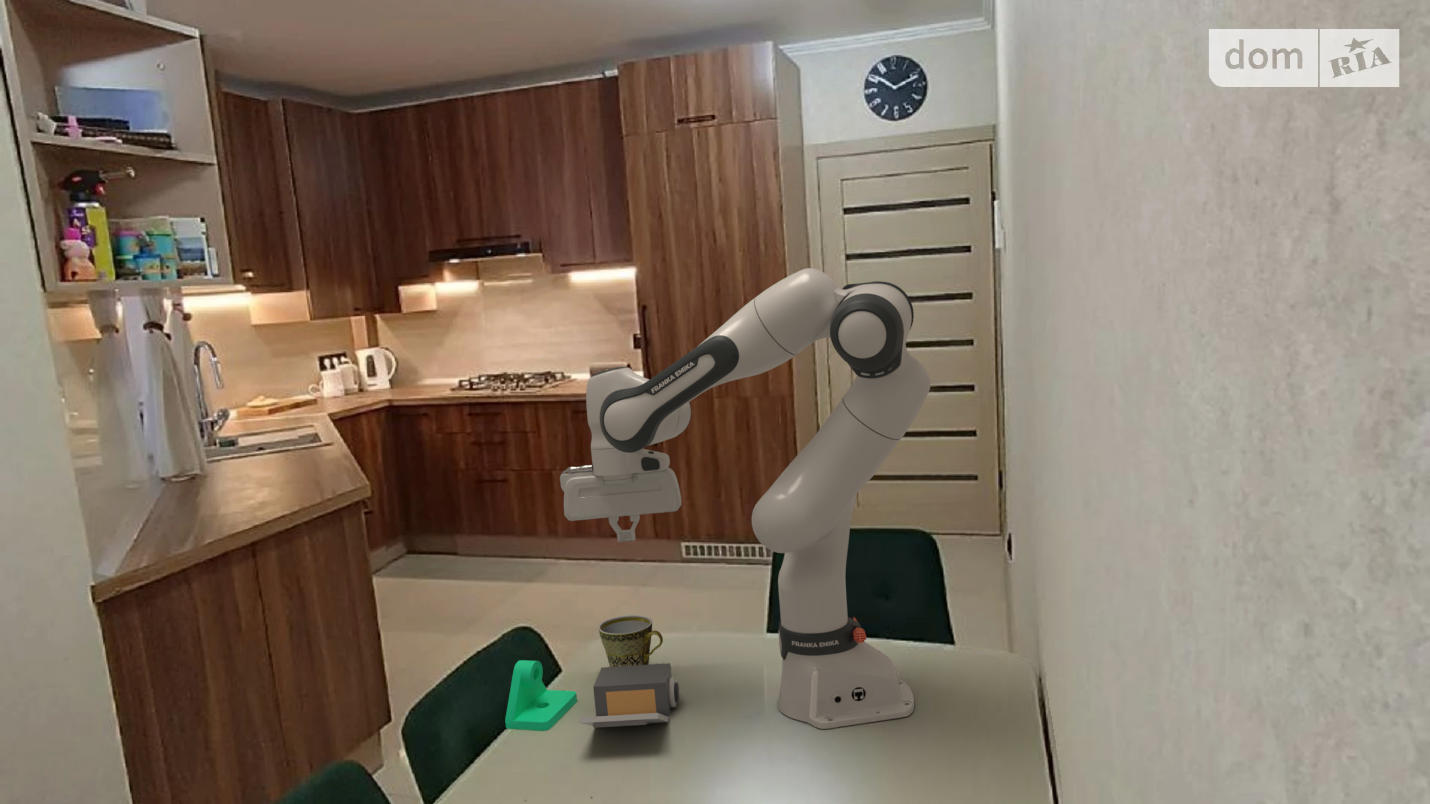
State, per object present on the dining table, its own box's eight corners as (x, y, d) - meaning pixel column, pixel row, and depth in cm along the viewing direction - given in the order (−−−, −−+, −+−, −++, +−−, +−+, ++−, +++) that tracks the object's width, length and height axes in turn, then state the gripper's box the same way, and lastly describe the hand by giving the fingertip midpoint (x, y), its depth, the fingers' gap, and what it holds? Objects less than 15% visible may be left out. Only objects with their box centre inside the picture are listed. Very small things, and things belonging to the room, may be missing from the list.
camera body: (681, 701, 159) (678, 662, 158) (677, 722, 151) (674, 682, 150) (605, 706, 160) (601, 667, 159) (597, 727, 152) (593, 687, 151)
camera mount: (548, 738, 150) (542, 677, 149) (506, 735, 152) (500, 675, 151) (579, 705, 161) (574, 649, 160) (540, 703, 164) (534, 647, 162)
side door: (669, 716, 151) (659, 712, 138) (670, 726, 150) (659, 723, 138) (595, 720, 151) (577, 716, 139) (595, 731, 151) (577, 728, 139)
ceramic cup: (592, 682, 170) (587, 630, 169) (623, 662, 179) (619, 612, 178) (651, 692, 164) (646, 638, 163) (680, 670, 173) (675, 619, 172)
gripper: (554, 470, 156) (563, 550, 157) (674, 459, 155) (683, 539, 156) (562, 465, 162) (570, 542, 163) (677, 454, 161) (685, 531, 162)
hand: (626, 540), depth 160 cm, fingers closed
